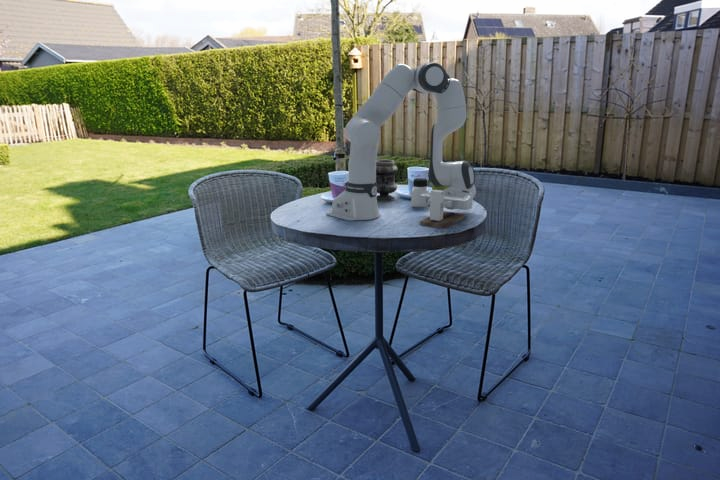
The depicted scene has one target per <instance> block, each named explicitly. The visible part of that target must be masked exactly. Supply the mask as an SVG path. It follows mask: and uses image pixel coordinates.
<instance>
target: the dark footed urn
mask: <svg viewBox="0 0 720 480" xmlns="http://www.w3.org/2000/svg"><path fill="white" fill-rule="evenodd" d="M397 172H398V167H397V165H395V160H392V159H376V181H377V194H378V195H376V196H377V202H378V201H380V202H388V201H389V202H390V201H394V200H395V197H394V196H392V195H391V194H392V193H394V192H396V191H397V189H398V185H397V183H396V182H395V181H396V180H395V179H396V177H395V176H396V173H397Z"/></svg>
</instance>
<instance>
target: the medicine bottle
mask: <svg viewBox="0 0 720 480" xmlns="http://www.w3.org/2000/svg"><path fill="white" fill-rule="evenodd" d="M412 183H413V187H412V189H411V201H410V204H411V205H410V206H411V207H412V208H413V207H414V208H416V207H417V208H427V207H428V204H421V203H420V200H419V199H420V195H421V194H424V193H428V192H429V188H428V179H427V178H425V177H416V178H414V179H413V182H412Z"/></svg>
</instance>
